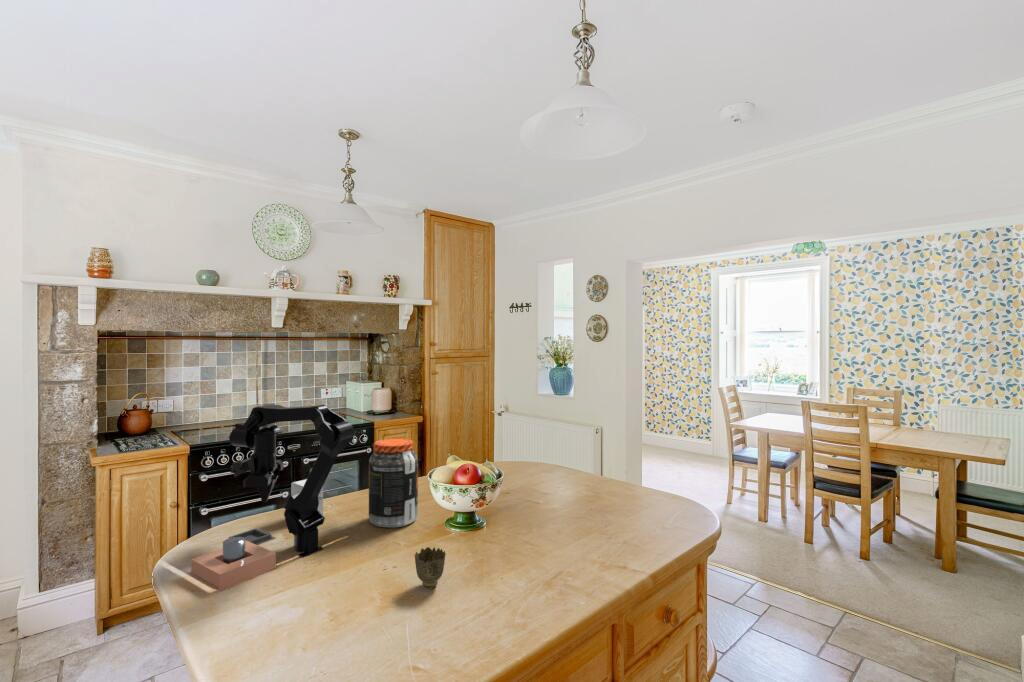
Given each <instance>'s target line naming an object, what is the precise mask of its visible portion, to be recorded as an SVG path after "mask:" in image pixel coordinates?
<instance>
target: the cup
mask: <svg viewBox="0 0 1024 682" xmlns="http://www.w3.org/2000/svg"><path fill="white" fill-rule="evenodd" d="M446 555H447V553H446V551H445V550H444V551H443V549H442V548H441V549H440V547H437V549H436V547H433V548H431V547H429V546H427V547H425V549H424V548H423V547H422V548H421V549H420V552H418V551H415V554H414V562H415V571H416V575H417V577H418V579H419V580H420V581H421V584H422V586H423V588H425V589H433V588H435V587H437V585H438V580H440V579H441V577H442V576H443V573H444V569H445V561H446Z"/></svg>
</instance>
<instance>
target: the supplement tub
mask: <svg viewBox="0 0 1024 682" xmlns="http://www.w3.org/2000/svg"><path fill="white" fill-rule="evenodd" d="M413 444H414V441H413V440H412V439H408V438H396V437H395V438H385V439H380V440H376V441H375V442H374V446H373V453H372V454H371V455H370V457H369V460H368V518H369V522H370V523H371V524H372V525H373V526H376V527H378V528H379V527H380V528H399V527H404V526H407V525H410V524H411V523H413V522H415V520H416V519H417V518H418V514H419V513H418V511H419V510H418V509H419V507H418V506H419V505H418V504H419V498H418V495H419V459H418V458H419V457H418V455H417V453H416V452H415V450H413V449H414V445H413Z"/></svg>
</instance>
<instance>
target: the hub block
mask: <svg viewBox="0 0 1024 682" xmlns="http://www.w3.org/2000/svg"><path fill="white" fill-rule="evenodd" d="M276 557H277V553H276V552H274V551H273V550H272V551H271V550H269V549H267V548H265V547H263V546H260V545H256V544H253V543H251V542H249V541H247V540H246V541H245V558H244V559H241V560H238V561H235V562H233V563H230V564H226V563H224V562H223V548H220V549H218V550H214V551H211V552H208V553H206V554H203V555H200V556H196V557H193V558H192V559H190V565H191V566H190V572H191V573H192V574H194V575H196V576H197V577H199V578H201V579H202V580H205V581H206V582H209V583H210V584H212V585H214V586H216V587H214V589H215V590H217V591H219V592H222V591H224V590H226V589H229V588H231V587H233V586H236V585H238V584H241V583H244V582H246V581H248V580H252V579H253V578H256V577H258V576H261V575H263V574H265V573H268V572H270V571H273V570H275V569H276V567H277V566H276V565H277V563H276V562H277V559H276Z"/></svg>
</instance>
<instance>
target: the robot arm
mask: <svg viewBox="0 0 1024 682" xmlns="http://www.w3.org/2000/svg"><path fill="white" fill-rule="evenodd" d="M297 421H299V422H301V421H311V422H312V423H313V426H314V428H315V431H316V433H317V434H318V435H319V436H320V440H319V445H320V446H319V447H320V451H319V453H318V455H317V458H315V459H316V460H315V461H314V463H313V465H312V467H311V470H310V472H309V474H308V476H307V478H306V479H307V480H306V479H305V480H306V482H305V484H304V486H303V488H302V491H301V492H299V493H297V494H294V495H292V496H291V495H290V496H289V497H288V500H287V503H286V505H285V506H284V507H283V509H284V512H283V517H284V519H285V523H286V526H287V529H288V532H289V534H292V535H293V536H294V539H293V541H294V545H293V546H294V548H295V549H294V550H295V552H297V553H299V554H298V556H300V557H303V558H304V557H306V556H307V557H308V555H311V554H314V553H316V552H319V551H321V550H323V548H324V546H321V545H319V528H318V527H320V526H322V525H324V523H325V516H324V514H323V515H322V513H321V512H320V511H319V509H318V505H319V500H318V495H319V493H320V491H321V489H322V487H323V488H324V484H325V482H326V480H327V478H329V477H328V476H329V474H330V472H331V470H332V468H333V466H334V465H335V462H336V460H337V457H338V456H339V455H340V454H341V452H342V451H343V450H345V449H346V447H348V445H349V444H350V443H351V441H352V440H353V438H354V437H355V434H356V432H355V430H354V427H353V425H352V424H351V423H350V422H349V421H347V420H346V419H345V418H344V417H343V416H341V415H340V414H338V413H336V412H335V411H333V410H332V409H330V408H329V406H328V405H325V404H318V405H308V406H305V405H304V406H290V407H287V406H286V407H285V406H282V405H281V404H274V403H273V404H266V405H260V406H259V405H258V406H255V407H253V408H252V409H251V411H250V413H249V416H248V417H247V419H246V420H245V422H237V423H235V425H234V428H233V429H232V430H231V432H230V433H229V435H228V439H229V440H228V441H229V443H230V445H232V446H234V447H242V448H244V447H245V448H253V453H252V454H251V455H250V457H248V458H245V459H243V460H240V459H239V460H238V461H234V462H232V465H231V466H230V470H229V472H230V474H233V475H234V477H235V478H236V477H239V476H240V475H242V474H245V473H247V472H249V473H250V474H248V475H247V476H246V477H245V478H244V479H243V487H244V488H257V491H258V493H259V497H260V499H261V502H262V503H263V504H265V503H267V502H268V500H269V498H270V495H271V493H272V491H273V489H274V486H275V483H276V482H277V479H278V477H279V474H274V472H275V470H278V471H279V472H282V471H283V470H284V462H283V461H282V460H281V459H277V457H276V456H277V454H278V449H276V448H277V443H276V442H277V435H279V434H282V433H283V430H282V429H281V428H280V427H279V426H278V425H277V423H282V422H297ZM274 424H276V425H274ZM328 424H329V425H328ZM270 425H271V426H270ZM268 426H269V427H268ZM307 520H308V521H307ZM305 521H307V522H305ZM303 522H305V523H303Z"/></svg>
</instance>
